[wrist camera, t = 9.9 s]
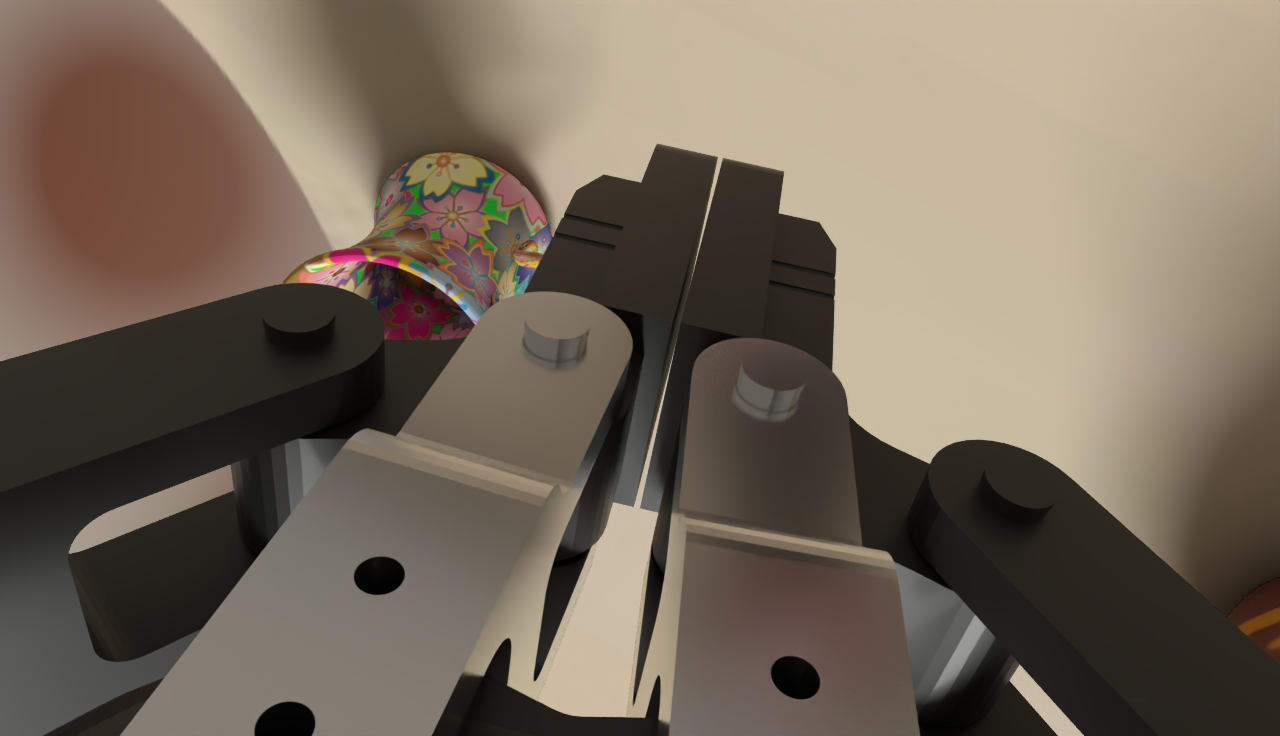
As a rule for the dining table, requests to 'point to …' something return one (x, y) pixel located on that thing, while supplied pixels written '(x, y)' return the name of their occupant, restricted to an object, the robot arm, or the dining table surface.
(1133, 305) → the dining table surface
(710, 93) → the dining table surface
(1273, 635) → the jug
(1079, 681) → the robot arm
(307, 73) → the dining table surface
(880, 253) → the dining table surface
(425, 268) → the mug
